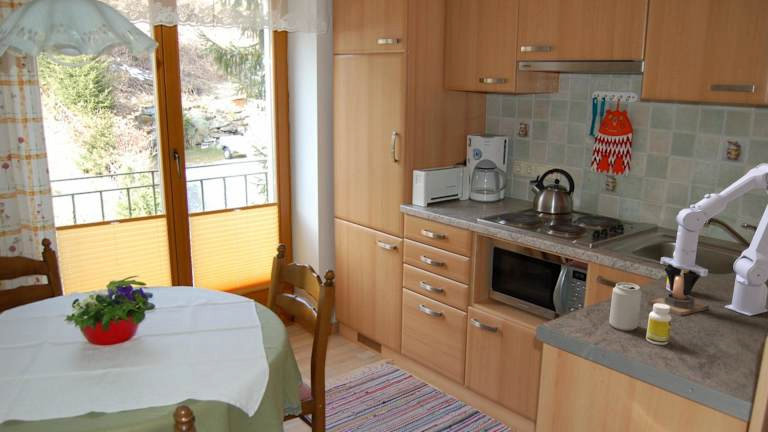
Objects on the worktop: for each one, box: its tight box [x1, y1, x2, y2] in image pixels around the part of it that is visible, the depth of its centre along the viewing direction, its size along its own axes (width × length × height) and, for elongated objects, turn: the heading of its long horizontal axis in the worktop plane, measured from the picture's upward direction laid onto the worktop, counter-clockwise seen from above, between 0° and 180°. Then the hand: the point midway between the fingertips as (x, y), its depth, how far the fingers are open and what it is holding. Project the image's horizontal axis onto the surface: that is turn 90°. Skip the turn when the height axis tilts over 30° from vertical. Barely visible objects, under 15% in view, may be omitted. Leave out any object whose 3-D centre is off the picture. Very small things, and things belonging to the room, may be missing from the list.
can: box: [608, 281, 643, 332], centre depth 176 cm, size 8×8×12 cm
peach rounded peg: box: [671, 275, 687, 301], centre depth 193 cm, size 4×4×7 cm
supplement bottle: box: [645, 303, 672, 346], centre depth 167 cm, size 5×5×10 cm
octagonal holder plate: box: [648, 291, 709, 317], centre depth 194 cm, size 13×11×3 cm
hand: (679, 292), depth 194 cm, fingers closed on peach rounded peg, 4 cm apart
